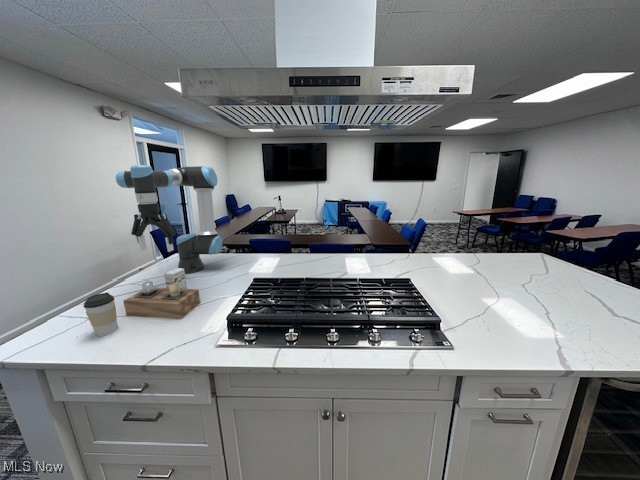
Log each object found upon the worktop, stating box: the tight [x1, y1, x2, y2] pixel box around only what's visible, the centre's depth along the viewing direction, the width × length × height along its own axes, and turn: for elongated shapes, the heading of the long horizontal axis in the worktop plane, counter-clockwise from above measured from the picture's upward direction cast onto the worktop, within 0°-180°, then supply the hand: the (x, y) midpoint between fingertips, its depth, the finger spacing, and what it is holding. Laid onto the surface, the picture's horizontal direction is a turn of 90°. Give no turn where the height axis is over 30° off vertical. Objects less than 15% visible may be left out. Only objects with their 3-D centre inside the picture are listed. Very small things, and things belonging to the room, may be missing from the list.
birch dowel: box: [169, 282, 181, 297], centre depth 111 cm, size 4×4×7 cm
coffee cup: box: [83, 292, 119, 337], centre depth 97 cm, size 9×9×15 cm
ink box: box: [164, 267, 188, 289], centre depth 130 cm, size 9×5×12 cm, turn 168°
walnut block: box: [122, 286, 201, 319], centre depth 113 cm, size 14×26×7 cm, turn 83°
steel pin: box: [141, 281, 155, 296], centre depth 113 cm, size 4×4×7 cm
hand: (157, 250), depth 112 cm, fingers open, 13 cm apart
